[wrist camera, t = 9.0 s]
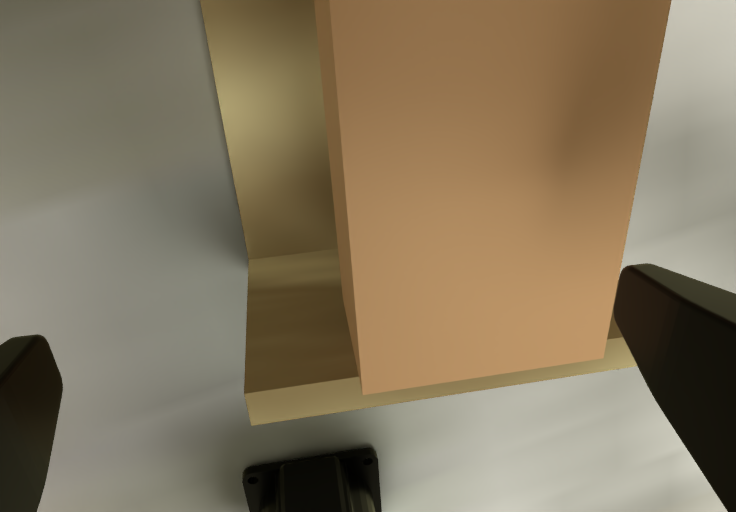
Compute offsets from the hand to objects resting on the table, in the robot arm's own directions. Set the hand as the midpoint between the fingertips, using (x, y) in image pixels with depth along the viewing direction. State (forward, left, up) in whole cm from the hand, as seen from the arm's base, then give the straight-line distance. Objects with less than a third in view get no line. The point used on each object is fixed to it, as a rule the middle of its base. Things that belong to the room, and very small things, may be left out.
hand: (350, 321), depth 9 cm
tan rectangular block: (+3, -3, -7) cm, 8 cm away
